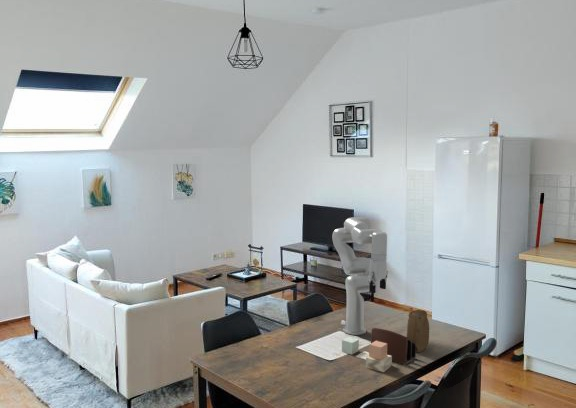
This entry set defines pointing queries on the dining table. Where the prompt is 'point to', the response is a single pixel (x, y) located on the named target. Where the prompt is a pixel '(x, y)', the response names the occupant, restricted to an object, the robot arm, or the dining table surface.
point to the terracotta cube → (378, 350)
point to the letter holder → (395, 345)
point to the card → (363, 355)
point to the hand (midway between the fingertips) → (377, 290)
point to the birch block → (379, 363)
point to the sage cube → (350, 345)
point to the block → (418, 329)
